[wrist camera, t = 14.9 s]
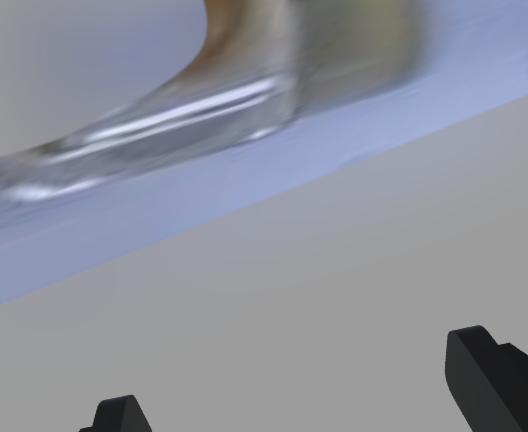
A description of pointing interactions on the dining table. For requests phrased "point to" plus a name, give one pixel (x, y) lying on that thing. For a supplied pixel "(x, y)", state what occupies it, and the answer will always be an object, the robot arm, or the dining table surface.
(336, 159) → the dining table surface
